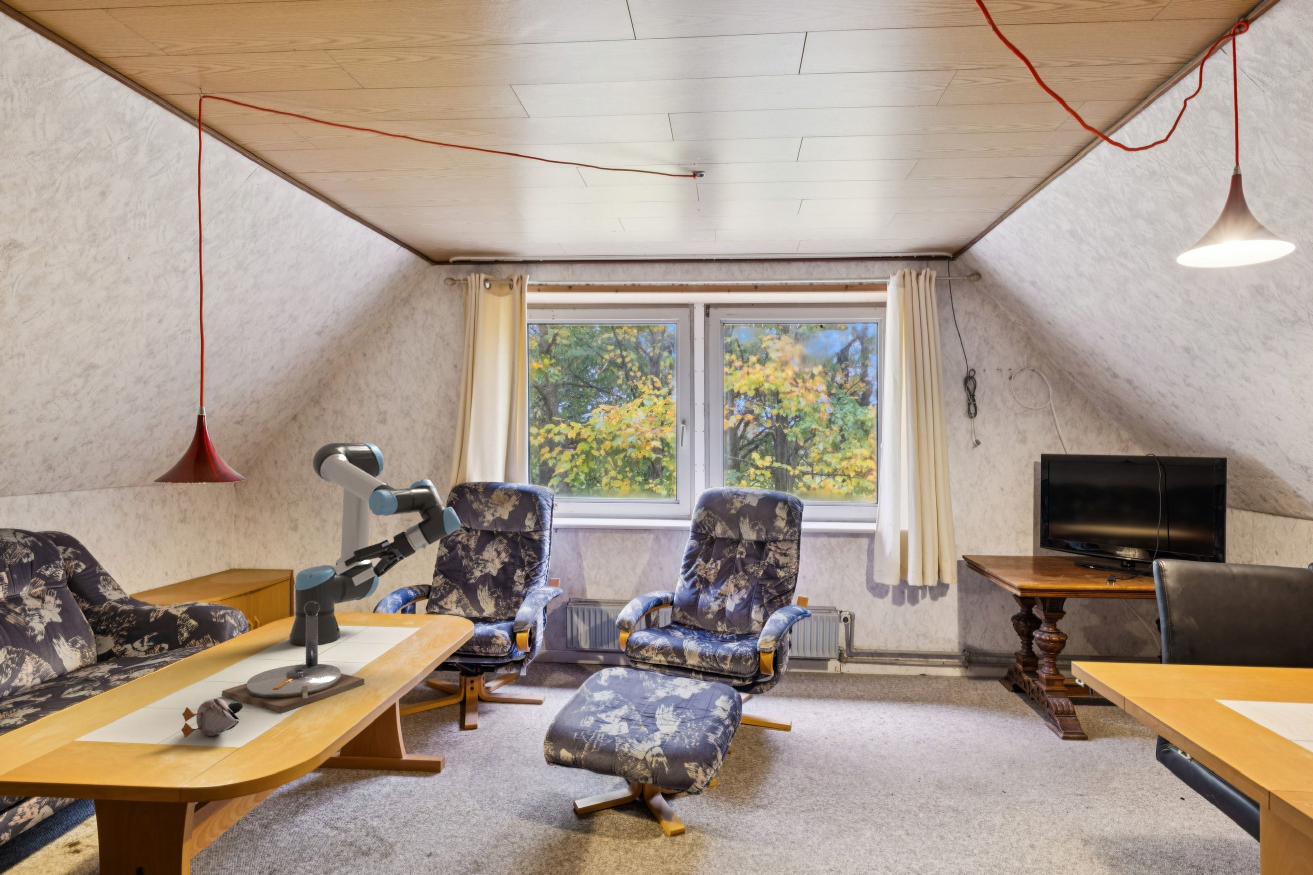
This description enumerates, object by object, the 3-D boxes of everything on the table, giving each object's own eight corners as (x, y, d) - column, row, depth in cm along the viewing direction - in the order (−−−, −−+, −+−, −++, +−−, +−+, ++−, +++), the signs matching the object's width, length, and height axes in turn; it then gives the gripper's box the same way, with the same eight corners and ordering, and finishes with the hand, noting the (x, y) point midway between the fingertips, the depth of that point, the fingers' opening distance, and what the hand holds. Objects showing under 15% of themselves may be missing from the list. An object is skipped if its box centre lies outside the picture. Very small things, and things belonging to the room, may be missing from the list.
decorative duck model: (230, 688, 177) (279, 692, 172) (228, 720, 176) (277, 726, 172) (171, 702, 163) (223, 708, 158) (168, 738, 162) (221, 744, 157)
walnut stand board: (222, 696, 190) (222, 678, 190) (306, 670, 211) (306, 654, 211) (281, 712, 178) (281, 694, 178) (364, 684, 199) (364, 667, 199)
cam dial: (319, 697, 184) (319, 619, 184) (229, 698, 183) (229, 619, 183) (354, 668, 207) (354, 599, 207) (274, 669, 206) (275, 599, 206)
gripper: (402, 539, 213) (332, 576, 209) (427, 562, 236) (365, 596, 232) (392, 518, 216) (323, 554, 212) (418, 542, 239) (356, 576, 234)
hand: (344, 576), depth 222 cm, fingers open, 13 cm apart
